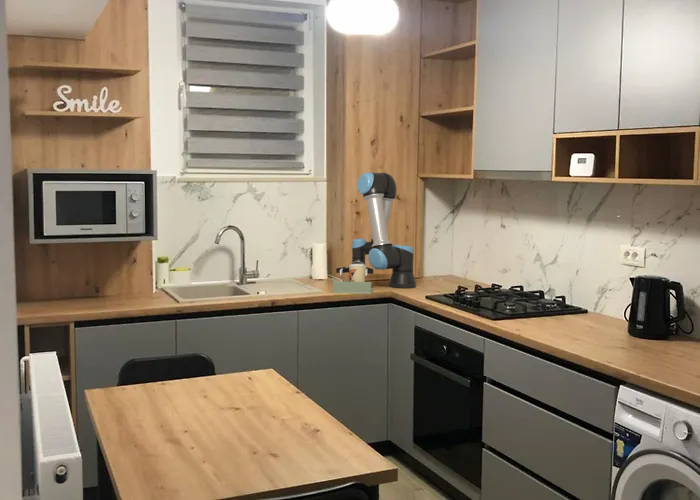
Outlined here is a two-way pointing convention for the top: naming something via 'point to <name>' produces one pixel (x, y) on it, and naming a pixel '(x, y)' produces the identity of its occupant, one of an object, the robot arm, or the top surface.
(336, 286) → the green rectangular box
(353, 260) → the robot arm
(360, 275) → the coffee cup
